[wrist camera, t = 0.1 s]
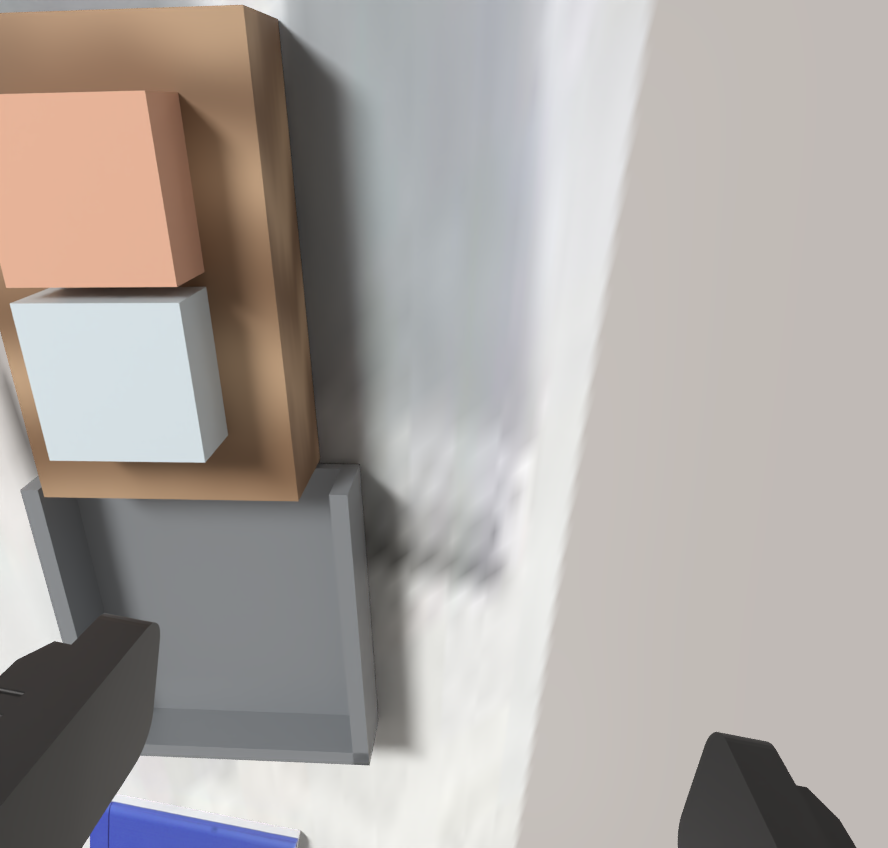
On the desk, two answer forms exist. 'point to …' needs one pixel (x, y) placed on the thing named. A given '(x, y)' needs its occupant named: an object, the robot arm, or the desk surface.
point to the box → (230, 613)
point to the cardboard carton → (220, 230)
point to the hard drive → (182, 828)
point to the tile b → (123, 373)
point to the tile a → (96, 191)
